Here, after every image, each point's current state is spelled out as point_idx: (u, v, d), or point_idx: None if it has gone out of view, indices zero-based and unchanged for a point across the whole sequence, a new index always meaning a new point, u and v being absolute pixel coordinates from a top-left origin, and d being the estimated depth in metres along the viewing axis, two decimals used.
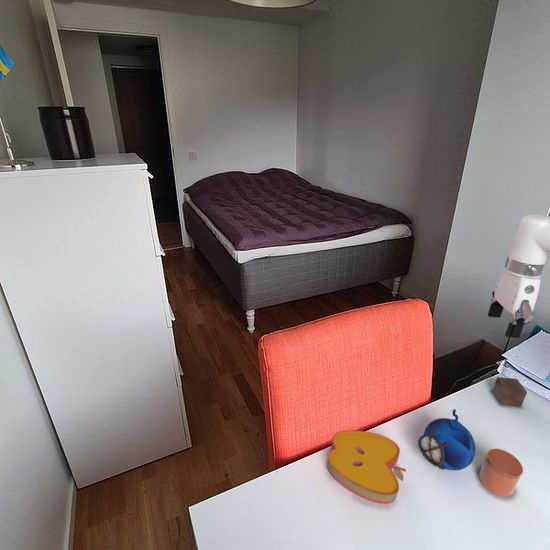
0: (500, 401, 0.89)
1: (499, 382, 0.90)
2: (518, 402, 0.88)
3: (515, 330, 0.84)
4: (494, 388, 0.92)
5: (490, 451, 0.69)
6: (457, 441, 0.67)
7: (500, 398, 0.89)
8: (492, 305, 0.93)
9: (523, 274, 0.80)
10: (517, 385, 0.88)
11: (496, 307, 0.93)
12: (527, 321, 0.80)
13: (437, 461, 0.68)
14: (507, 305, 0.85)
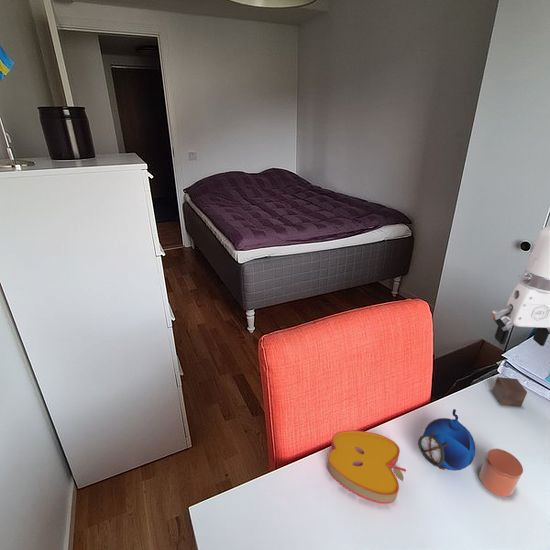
0: (500, 401, 0.89)
1: (499, 382, 0.90)
2: (518, 402, 0.88)
3: (497, 331, 0.85)
4: (494, 388, 0.92)
5: (490, 451, 0.69)
6: (457, 441, 0.67)
7: (500, 398, 0.89)
8: None
9: None
10: (517, 385, 0.88)
11: (539, 331, 0.85)
12: (495, 319, 0.83)
13: (437, 461, 0.68)
14: None
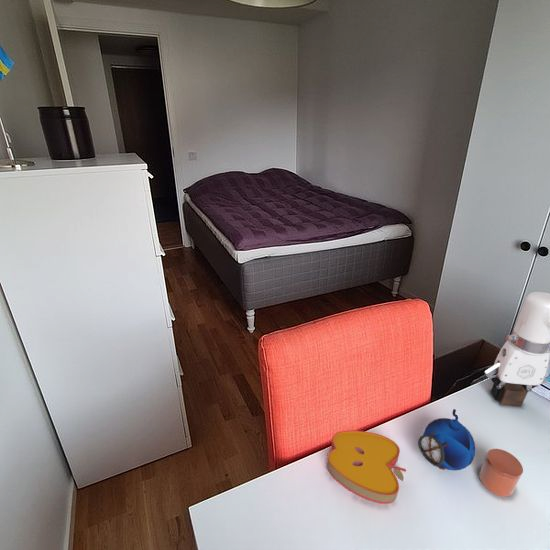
0: (500, 401, 0.89)
1: None
2: (518, 402, 0.88)
3: (493, 388, 0.90)
4: None
5: (490, 451, 0.69)
6: (457, 441, 0.67)
7: (500, 398, 0.89)
8: None
9: None
10: (517, 385, 0.88)
11: None
12: (489, 378, 0.88)
13: (437, 461, 0.68)
14: None
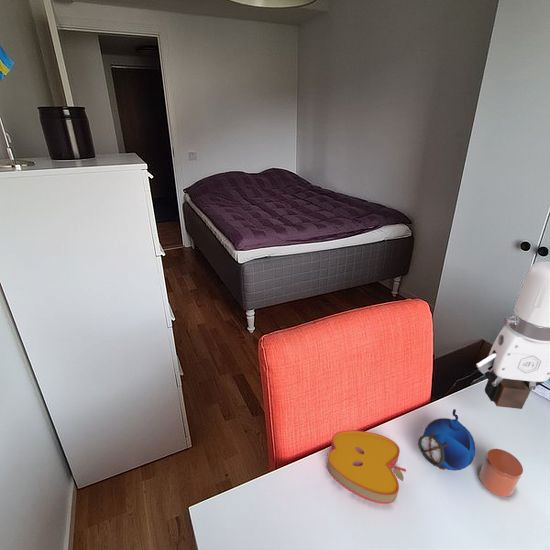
0: (496, 401, 0.71)
1: None
2: (518, 403, 0.70)
3: (487, 385, 0.72)
4: None
5: (490, 451, 0.69)
6: (457, 441, 0.67)
7: (496, 398, 0.71)
8: None
9: None
10: (517, 382, 0.70)
11: None
12: (483, 373, 0.71)
13: (437, 461, 0.68)
14: None
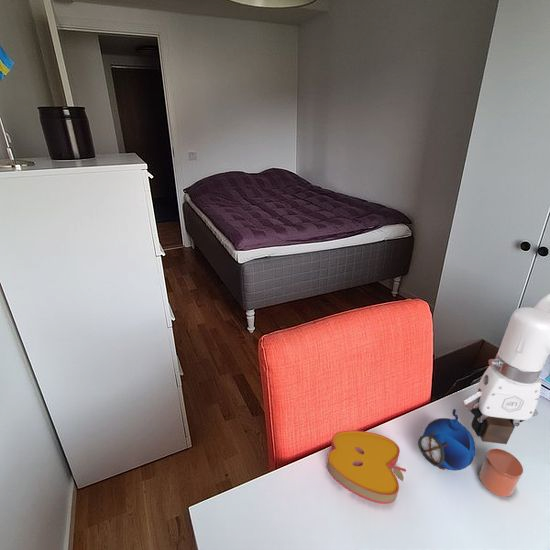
0: (482, 437, 0.74)
1: None
2: (503, 439, 0.73)
3: (473, 421, 0.75)
4: None
5: (490, 451, 0.69)
6: (457, 441, 0.67)
7: (482, 433, 0.74)
8: None
9: None
10: (502, 418, 0.73)
11: None
12: None
13: (437, 461, 0.68)
14: None
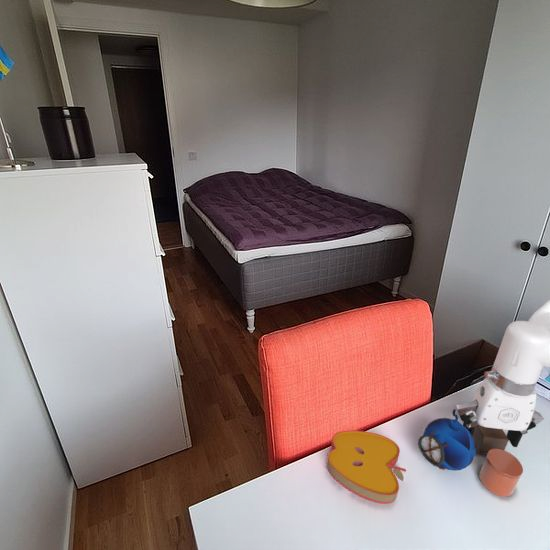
0: (477, 449, 0.75)
1: (477, 426, 0.76)
2: None
3: None
4: None
5: (490, 451, 0.69)
6: (457, 441, 0.67)
7: (477, 445, 0.76)
8: None
9: None
10: (497, 430, 0.75)
11: (512, 430, 0.75)
12: (459, 414, 0.74)
13: (437, 461, 0.68)
14: None
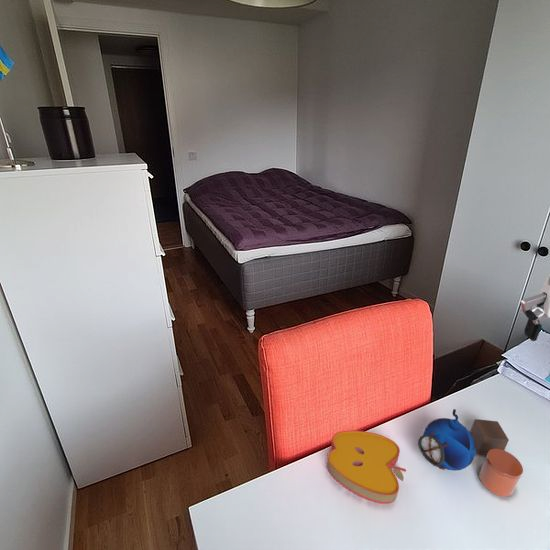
0: (477, 449, 0.75)
1: (477, 426, 0.76)
2: None
3: (527, 326, 0.72)
4: (471, 431, 0.79)
5: (490, 451, 0.69)
6: (457, 441, 0.67)
7: (477, 445, 0.76)
8: None
9: None
10: (497, 430, 0.75)
11: None
12: (524, 310, 0.70)
13: (437, 461, 0.68)
14: None
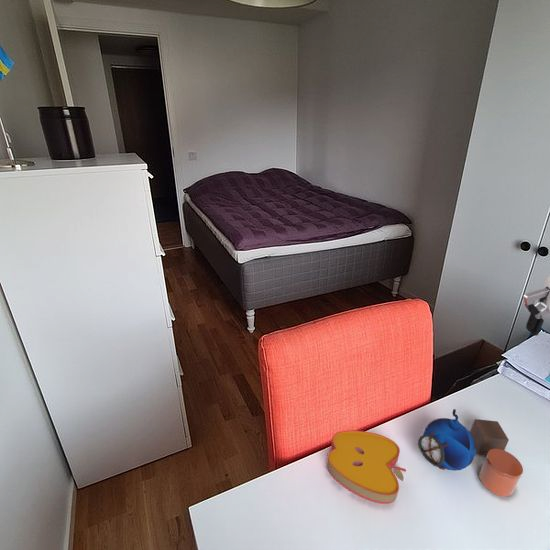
0: (477, 449, 0.75)
1: (477, 426, 0.76)
2: None
3: (529, 320, 0.72)
4: (471, 431, 0.79)
5: (490, 451, 0.69)
6: (457, 441, 0.67)
7: (477, 445, 0.76)
8: None
9: None
10: (497, 430, 0.75)
11: None
12: (526, 304, 0.70)
13: (437, 461, 0.68)
14: None
